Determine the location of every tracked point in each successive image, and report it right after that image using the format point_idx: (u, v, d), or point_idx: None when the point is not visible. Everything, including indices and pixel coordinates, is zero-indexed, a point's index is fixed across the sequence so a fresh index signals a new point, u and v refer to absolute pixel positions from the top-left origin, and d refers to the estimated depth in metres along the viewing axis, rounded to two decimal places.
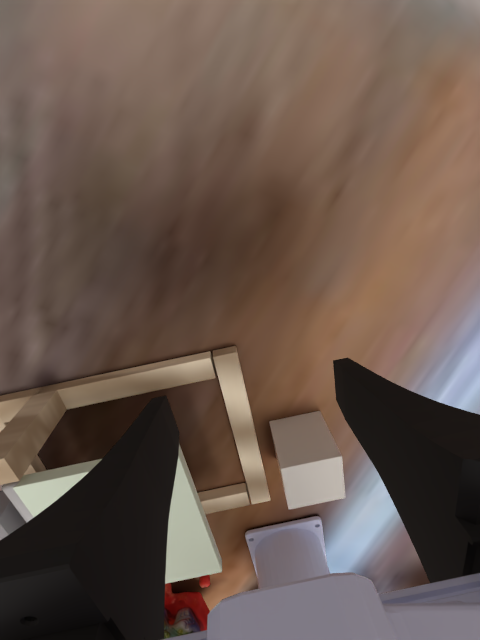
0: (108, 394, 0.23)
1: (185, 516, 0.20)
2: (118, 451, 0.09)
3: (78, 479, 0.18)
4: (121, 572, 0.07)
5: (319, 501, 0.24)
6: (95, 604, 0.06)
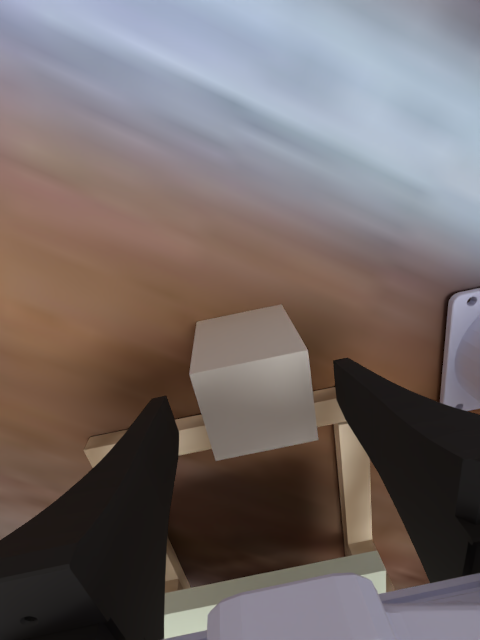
0: None
1: None
2: (118, 451, 0.09)
3: None
4: (122, 572, 0.07)
5: (308, 394, 0.12)
6: (95, 603, 0.06)
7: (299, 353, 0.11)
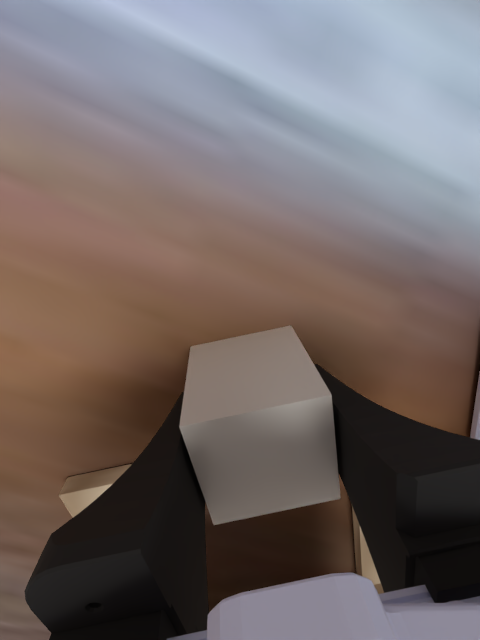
0: None
1: None
2: (159, 443, 0.09)
3: None
4: (176, 560, 0.07)
5: (330, 447, 0.10)
6: (160, 590, 0.06)
7: (320, 399, 0.09)
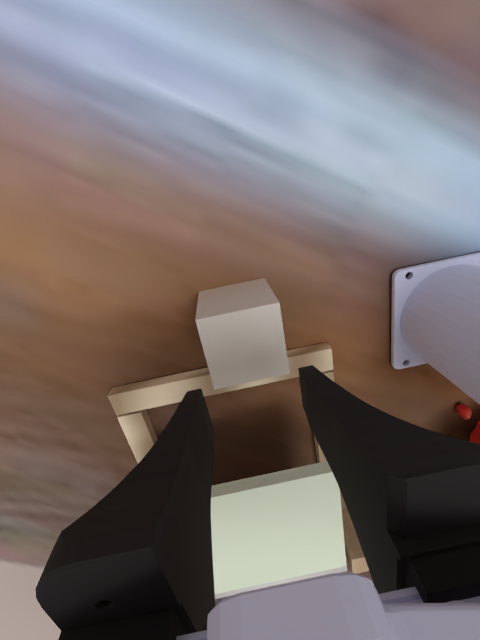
0: None
1: (231, 504, 0.18)
2: (166, 442, 0.09)
3: None
4: (185, 559, 0.07)
5: (281, 337, 0.17)
6: (171, 588, 0.06)
7: (273, 305, 0.16)
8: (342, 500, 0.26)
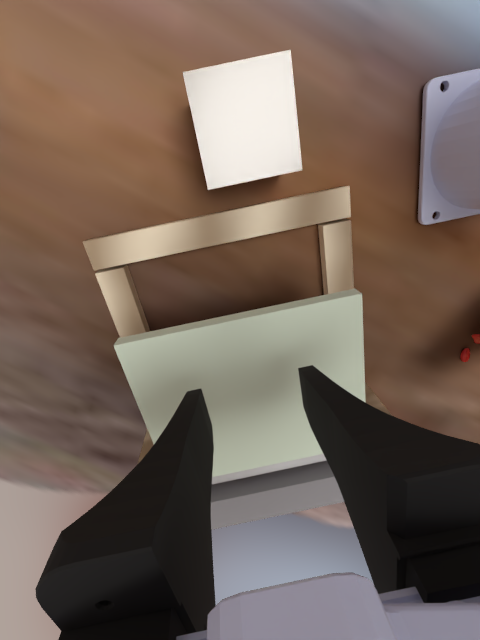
0: None
1: (229, 340, 0.15)
2: (166, 442, 0.09)
3: None
4: (185, 558, 0.07)
5: (292, 109, 0.13)
6: (171, 588, 0.06)
7: (282, 54, 0.13)
8: None
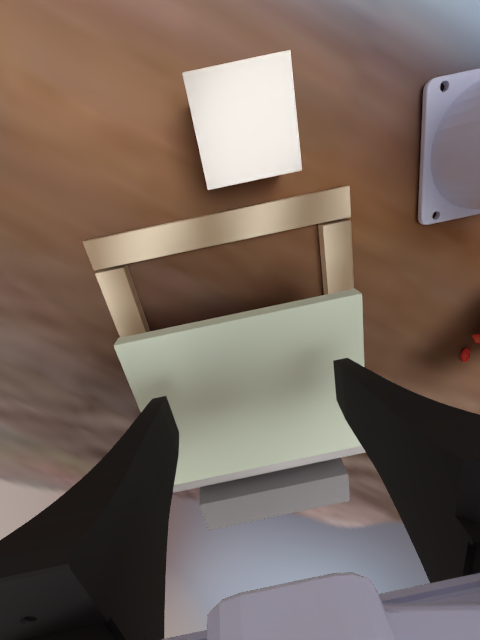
0: None
1: (229, 340, 0.15)
2: (118, 451, 0.09)
3: None
4: (122, 572, 0.07)
5: (291, 109, 0.13)
6: (95, 604, 0.06)
7: (282, 54, 0.13)
8: None
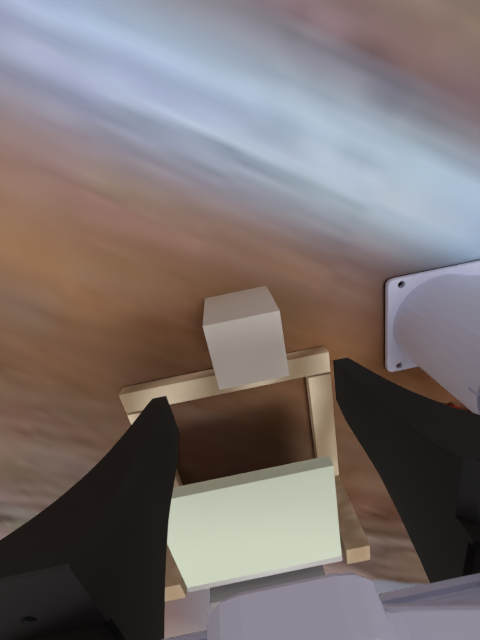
0: None
1: (234, 496, 0.20)
2: (118, 451, 0.09)
3: (179, 557, 0.22)
4: (122, 572, 0.07)
5: (281, 342, 0.18)
6: (95, 604, 0.06)
7: (274, 312, 0.18)
8: (338, 495, 0.27)
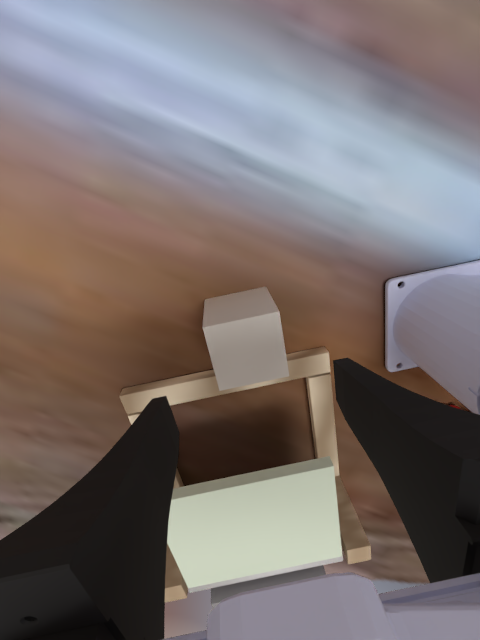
0: None
1: (235, 497, 0.20)
2: (118, 451, 0.09)
3: (180, 558, 0.22)
4: (122, 572, 0.07)
5: (281, 342, 0.18)
6: (95, 603, 0.06)
7: (274, 313, 0.18)
8: (339, 495, 0.27)
